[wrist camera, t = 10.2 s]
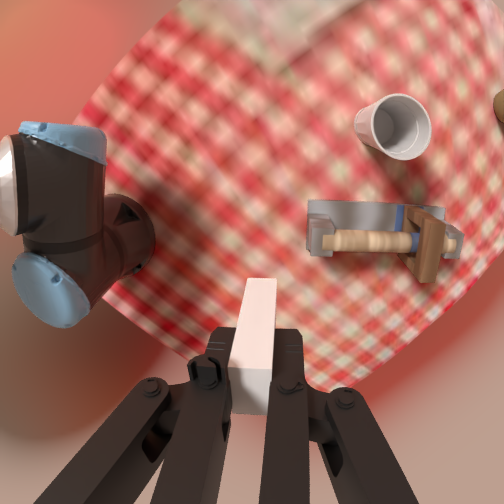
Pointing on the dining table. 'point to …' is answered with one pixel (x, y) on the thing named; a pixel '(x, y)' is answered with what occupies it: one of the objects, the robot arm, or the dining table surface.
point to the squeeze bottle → (499, 105)
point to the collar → (423, 243)
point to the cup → (395, 126)
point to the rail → (369, 228)
